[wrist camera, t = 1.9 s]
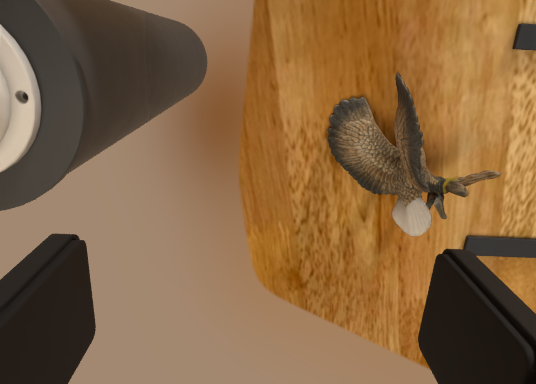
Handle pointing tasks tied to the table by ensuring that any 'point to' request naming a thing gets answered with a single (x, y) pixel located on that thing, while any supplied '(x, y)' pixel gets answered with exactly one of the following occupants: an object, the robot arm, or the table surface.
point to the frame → (495, 246)
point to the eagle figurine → (393, 160)
